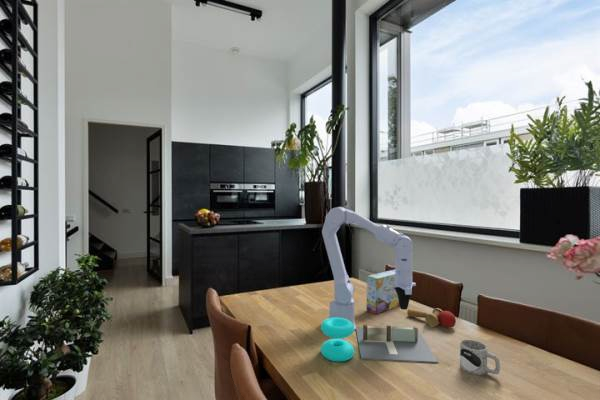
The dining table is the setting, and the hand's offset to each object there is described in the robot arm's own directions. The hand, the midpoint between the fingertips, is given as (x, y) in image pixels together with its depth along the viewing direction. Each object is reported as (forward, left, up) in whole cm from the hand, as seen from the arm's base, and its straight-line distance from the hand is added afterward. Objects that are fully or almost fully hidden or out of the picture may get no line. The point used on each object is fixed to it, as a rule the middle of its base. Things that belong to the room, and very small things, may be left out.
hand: (403, 308), depth 112 cm
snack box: (-1, +25, -9) cm, 27 cm away
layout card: (-5, -9, -8) cm, 13 cm away
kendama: (+12, +10, -9) cm, 18 cm away
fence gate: (-1, -8, -8) cm, 11 cm away
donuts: (-23, -18, -9) cm, 31 cm away
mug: (+16, -23, -9) cm, 29 cm away
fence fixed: (-10, -8, -8) cm, 16 cm away
